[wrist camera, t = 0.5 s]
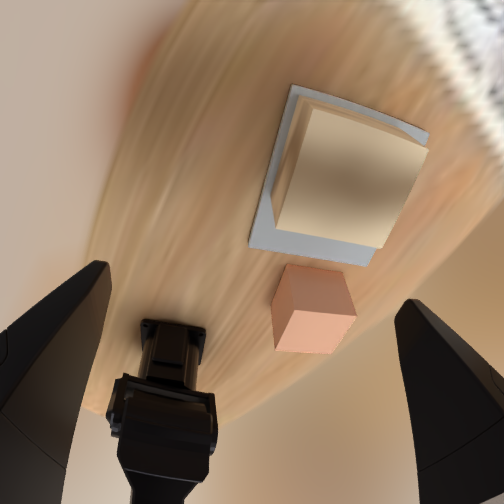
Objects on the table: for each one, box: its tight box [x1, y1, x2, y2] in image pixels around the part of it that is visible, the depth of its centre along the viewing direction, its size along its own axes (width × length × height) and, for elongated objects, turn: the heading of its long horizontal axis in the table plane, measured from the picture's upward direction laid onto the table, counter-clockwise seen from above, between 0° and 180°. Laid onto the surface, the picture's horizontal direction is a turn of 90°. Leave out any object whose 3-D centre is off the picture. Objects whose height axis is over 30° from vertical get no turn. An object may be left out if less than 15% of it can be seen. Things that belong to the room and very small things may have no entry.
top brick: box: [271, 264, 357, 354], centre depth 25 cm, size 5×5×5 cm
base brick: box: [270, 95, 429, 249], centre depth 18 cm, size 7×7×4 cm
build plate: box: [248, 84, 430, 267], centre depth 21 cm, size 12×10×1 cm
